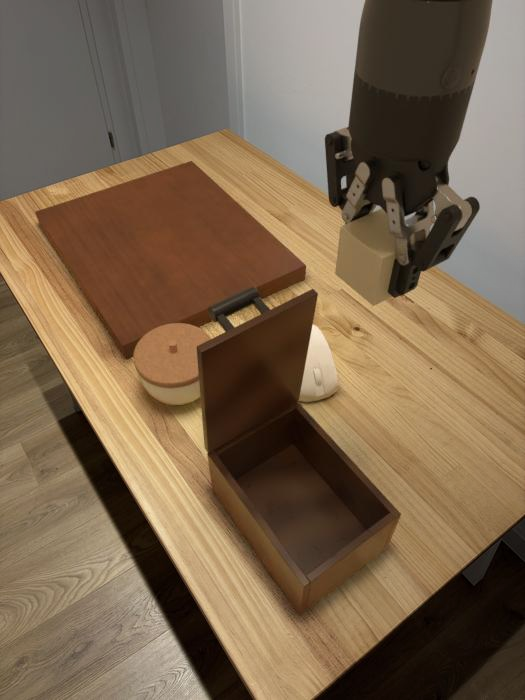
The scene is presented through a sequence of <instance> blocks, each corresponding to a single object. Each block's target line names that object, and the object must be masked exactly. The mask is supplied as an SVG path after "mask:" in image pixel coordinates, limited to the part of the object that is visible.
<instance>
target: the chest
mask: <svg viewBox="0 0 525 700" xmlns="http://www.w3.org/2000/svg"><path fill="white" fill-rule="evenodd" d="M206 456H207V463H208V469H209V477H210V483H211V487H212V488H211V490H212V492H213V494H214V496H215V497H216V498H217V499H218V501H219V502H220V504H221V505H222V507H223V508H224V509H225V511H226V513H227V514H228V515H229V517H230V518H231V519H232V521H233V522H234V523H235V525H236V527H237V528H238V530H239V531H240V533H241V534H242V535H243V536H244V538H245V539H246V541H247V542H248V544H249V546H250V547H251V549H253V551H254V553H255V554H256V556H257V557H258V558H259V559H260V561H261V562H262V564H263V565H264V567H265V568H266V570H267V571H268V573H269V574H270V575H271V577H272V578H273V579H274V581H275V582H276V585H278V587H279V588H280V590H281V591H282V593H283V595H285V597H286V598H287V600H288V601H289V602H290V604H291V605H292V607H293V608H294V610H295V611H296V613H297V614H298V615H299V616H302V615H303V614H304V613H306V612H307V611H308V610H309V609H310V608H312V607H313V606H314V605H316V604H317V603H318V602H319V601H321V600H322V599H324V598H325V597H327V596H328V595H329V594H330V593H332V591H334V590H335V589H336V588H338V587H339V586H340V585H342V584H343V583H344V582H346V581H347V580H348V579H349V578H351V577H352V576H353V575H355V574H356V573H357V572H358V571H360V570H361V569H363V568H364V567H365V566H367V565H368V564H369V563H370V562H371V561H373V560H374V559H376V558H377V557H378V556H380V554H382V553H383V552H385V551H386V550H387V549H388V547H389V545H390V543H391V540H392V538H393V535H394V533H395V531H396V528H397V525H398V523H399V520H400V519H401V516H402V513H401V512H400V511H399V510H398V509H397V507H396V506H394V505H393V503H392V502H391V501H390V500H389V499H388V498H387V496H386V495H384V494H383V492H382V491H381V490H380V489H379V488H378V487H377V486H376V485H375V483H374V482H373V481H372V480H370V478H369V477H368V476H367V475H366V474H365V473H364V472H363V471H362V470H361V468H360V467H359V466H358V465H357V464H356V463H355V462H354V461H353V460H352V459H351V457H350V456H349V455H348V454H347V453H346V452H345V451H344V449H342V448H341V447H340V446H339V444H338V443H337V442H336V441H335V440H334V439H333V438H332V436H330V435H329V433H327V431H326V430H325V429H324V428H323V427H322V426H321V424H319V423H318V422H317V420H316V419H315V418H313V416H312V415H311V414H310V413H309V412H308V411H307V409H306V408H305V407H304V406H302V404H301V403H300V401H297V402H295V403H293V404H292V405H290V406H288V407H287V408H285V409H283V410H281V411H280V412H278V413H276V414H275V415H273V416H271V417H269V418H268V419H266V420H264V421H263V422H261V423H259V424H258V425H256V426H254V427H252V428H251V429H249V430H247V431H246V432H244V433H242V434H240V435H239V436H237V437H235V438H234V439H232V440H230V441H228V442H227V443H225V444H223V445H222V446H220V447H218V448H217V449H215V450H213V451H211V452H210V453H208V452H207V453H206Z"/></svg>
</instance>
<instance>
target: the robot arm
mask: <svg viewBox="0 0 525 700" xmlns="http://www.w3.org/2000/svg"><path fill="white" fill-rule="evenodd" d="M493 1H494V0H364V4H363V7H362V11H361V16H360V20H359V28H358V35H357V36H358V37H357V44H356V45H357V47H356V53H355V55H356V56H355V63H354V73H353V79H352V80H353V81H352V88H351V89H352V91H351V100H350V107H349V117H348V125H347V127H343V128H340V129H337V130H333V132H329V133H327V134H325V137H324V149H325V163H326V178H327V195H328V202H329V204H330V205H331V206H332V207H333V208H337V207H338V208H339V209H340V210H341V218H342V221H343V222H344V225H345V224H347V223H350V222H352V221H354V220H356V219H359V218H361V217H363V216H366V215H368V214H370V213H373V212H375V211H374V210H376V207H377V206H378V207H380V209H383V210H384V211H385V212H386V213H387V216H388V227H389V233H390V235H393V236H394V237H395V247H396V258H397V259H395V260H394V264H393V269H392V274H391V278H390V283H389V288H388V293H389V294H390V295H391V296H392V297H391V298H394V299H397V298H398V297H400V296H401V297H402V296H404V295H406V294H408V293H410V292H412V291H413V290H415V289H416V288H417V287H418V285H419V280H420V276H421V273H422V272H426V271H428V270H429V269H430V270H431V268H434V267H435V266H438V265H439V264H441V263H444V262H446V261H448V260H449V259H450V258H451V256H452V255H453V253H454V251H455V250H456V249H457V247H458V245H459V243H460V241H461V240H462V239H463V237H464V236H465V234H466V232H467V231H468V229H469V227H470V226H471V224H472V222H473V221H474V220H475V217H476V216H477V215H478V213H479V211H480V209H481V206H480V202H479V200H478V199H477V198H476V197H474V196H469V197H465V198H464V199H463V198H462V197H461V196H460V195H459V194H457V192H456V191H455V190H454V189H452V188H451V187H450V185H449V184H450V173H449V160H450V158H451V156H452V155H453V152H454V150H456V149H455V148H456V146H457V145H458V143H459V141H460V139H461V136H462V135H461V134H462V131H463V127H464V124H465V120H466V116H467V112H468V108H469V105H470V101H471V98H472V95H473V91H474V87H475V83H476V79H477V75H478V73H479V72H478V71H479V67H480V64H481V60H482V57H483V53H484V49H485V47H486V42H487V37H488V34H489V28H490V22H491V15H492V7H493ZM344 177H345V183H346V184H345V185H346V186H345V187H343V188H342V179H343V178H344ZM434 204H435V209H434ZM412 214H414V215H412ZM410 215H412V216H410ZM408 216H410V217H408ZM405 217H408V218H405ZM405 219H406V220H405ZM412 234H414V242H415V243H414V244H412V245H411V236H412Z"/></svg>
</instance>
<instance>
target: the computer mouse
mask: <svg viewBox="0 0 525 700" xmlns="http://www.w3.org/2000/svg"><path fill="white" fill-rule="evenodd" d="M338 388H339V377H338V372H337V367H336V364H335V361H334V357H333V354H332V352H331V349H330V346H329V344H328V341H327V339H326V337H325V336H324V334H323V331H322V330H321V329H320V328H319V327H318V326H317V325H316V324H313V325H312V331H311V336H310V342H309V347H308V353H307V358H306V364H305V369H304V375H303V380H302V386H301V391H300V397H299V401H298V402H304V403H310V402H317V401H321V400H325V399H327V398H330V397H331V396H333V395H334V394H335V393H336V392H337V391H338Z"/></svg>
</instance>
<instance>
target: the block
mask: <svg viewBox="0 0 525 700" xmlns="http://www.w3.org/2000/svg"><path fill="white" fill-rule="evenodd" d="M406 219H407V218H405V220H406ZM414 243H415V242H414V234H412V236H411V245H412V244H414ZM337 245H338V246H337V253H336V263H335V272H334V274H335V276H337V277H338V278H339V279H340V280H341V281H343V282H344V283H345V284H346V285H348V286H349V287H350V288H351V289H352V290H353V291H354V292H356V293H357V294H358V295H359V296H360V297H361V298H363V299H364V300H365V301H366V302H367V303H369V304H370V305H372V307H375V306H377V305H379V304H380V303H383V302H385V301H386V300H389V299H390V298H393V297H392V296H391V295H390V294H389V293H388V288H389V283H390V278H391V274H392V269H393V264H394V260H395V259H397V258H396V247H395V237H394V236H393V235H390V233H389V227H388V216H387V213H386V212H385V211H384V210H383V209H382V208H379V209H378V210H375V211H373V212H372V213H370V214H368V215H366V216H363V217H361V218H359V219H356V220H354V221H352V222H350V223H347V224H345V223H344V224H342V225H341V226H340V230H339V235H338V244H337Z"/></svg>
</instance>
